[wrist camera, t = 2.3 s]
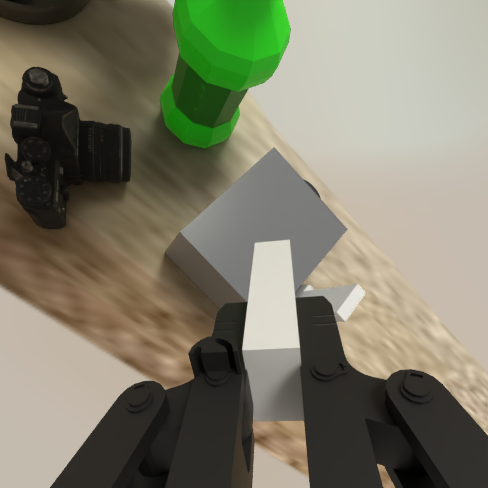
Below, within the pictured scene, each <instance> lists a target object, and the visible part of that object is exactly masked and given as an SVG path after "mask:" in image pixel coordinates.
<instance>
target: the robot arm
mask: <svg viewBox="0 0 488 488" xmlns="http://www.w3.org/2000/svg"><path fill="white" fill-rule="evenodd" d="M87 2H88V0H0V16H2V17H4V18H7V19H10V20H14V21H18V22H23V23H29V24H50V23H56V22H60V21H63V20H66V19H68V18H70V17H72V16H74V15H75V14H77V13H78V12H79V11H81V10H82V9H83V7H84V6H85V5H86V3H87ZM188 354H189V358H190V362H191V365H192V369H193V373H194V379H192V380H191V381H189V382H187V383H185V384H182V385H180V386H177V387H173V388H170V389H167V390H165V389H164V388H163V387H162V385H161V384H160V383H157V382H155V381H143V382H140V383H137V384H134V385H132V386H131V387H129V388H127V389H126V390H125V391H124V392H123V393H122V394H121V395H120V396H119V397H118V398H117V400H116V401H115V402H114V404H113V405H112V406H111V408H110V409H109V410H108V412H107V413H106V414H105V416H104V417H103V418H102V420H101V421H100V422H99V424H98V425H97V426H96V428H95V429H94V430H93V432H92V433H91V434H90V435H89V437H88V438H87V440H86V441H85V442H84V443H83V445H82V446H81V447H80V449H79V450H78V451H77V453H76V454H75V455H74V457H73V458H72V459H71V461H70V462H69V463H68V465H67V466H66V467H65V469H64V470H63V471H62V473H61V474H60V475H59V477H58V478H57V479H56V480H55V482H54V483H53V484H52V486H51V487H50V488H252V478H253V459H254V434H253V428H252V424H253V414H254V420H255V421H300V420H304V422H305V434H306V446H307V458H308V470H309V482H310V488H383V486H382V482H381V478H380V474H379V470H378V467H377V464H380V465H383V466H385V469H386V471H387V472H388V474H389V476H390V478H391V480H392V482H393V484H394V486H395V488H488V435H487V434H486V433H485V432H484V431H483V430H482V429H481V427H480V426H479V425H478V424H477V423H476V422H475V421H474V419H473V418H472V417H471V416H470V415H469V414H468V413H467V412H466V410H465V409H464V408H463V407H462V406H461V405H460V404H459V402H458V401H457V400H456V399H455V398H454V397H453V396H452V395H451V393H450V392H449V391H448V390H447V389H446V388H445V387H444V385H443V384H441V383H440V382H439V381H438V380H437V379H436V378H434V377H433V376H431V375H429V374H426V373H424V372H422V371H417V370H412V369H409V370H399V371H397V372H395V373H393V374H391V376H390V377H389V378H388V379H387V380H384V379H380V378H375V377H371V376H368V375H365V374H363V373H361V372H359V371H357V370H356V369H354V368H353V367H352V366H351V365H350V364H349V363H348V361H347V360H346V357H345V354H344V351H343V347H342V343H341V339H340V335H339V331H338V327H337V324H336V319H335V316H334V311H333V307H332V304H331V303H330V302H329V301H328V300H327V299H326V298H325V297H324V296H313V297H298V298H295V291H294V280H293V269H292V259H291V248H290V240H280V241H269V242H258V243H255V246H254V255H253V263H252V271H251V280H250V288H249V297H248V302H238V303H225V304H224V306H223V307H222V308H221V309H220V310H219V311H218V313H217V317H216V322H215V326H214V330H213V334H212V336H211V337H207V338H205V339H202V340H200V341H198V342H197V343H196V344H195V345H194V346H193V347H192V348H191V350H190V352H189V353H188Z"/></svg>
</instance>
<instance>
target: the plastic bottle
mask: <svg viewBox="0 0 488 488" xmlns="http://www.w3.org/2000/svg"><path fill="white" fill-rule="evenodd" d="M173 23H174V30H175V34H176V38H177V43H178V47H179V52H180V53H179V57H178V61H177V66H176V70H175V74H174V75H172V76H171V78H170V80H169V82H168V83H167V85H166V87H165V89H164V90H163V92H162V94H161V97H160V103H161V108H162V113H163V117H164V122H165V125H166V127H167V128H168V129H169V130H170V131H171V132H172V133H173V134H174V135H175V136H176V137H177V138H178V139H180V140H181V141H182V142H183V143H184V144H189V145H193V146H197V147H202V148H208V147H210V146H213V145H215V144H218V143H220V142H222V141H225V140H227V139H228V138H229V137H230V135H231V133H232V131H233V129H234V127H235V125H236V123H237V120H238V118H239V116H240V114H239V107H238V106H239V104H240V103H241V101H242V99H243V97H244V96H245V94H246V92H247V90H248V89H249V88H251V87H253V86H256V85H259V84H262V83H264V82H265V81H266V80H268V79H269V78H270V77H271V76H272V75H273V73H274V72H275V70H276V69H277V67H278V65H279V63H280V60H281V58H282V56H283V54H284V51H285V49H286V47H287V45H288V43H289V37H290V31H291V28H290V25H289V21H288V17H287V14H286V10H285V7H284V3H283V0H175V4H174V9H173Z"/></svg>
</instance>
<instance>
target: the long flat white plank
mask: <svg viewBox="0 0 488 488" xmlns="http://www.w3.org/2000/svg"><path fill="white" fill-rule="evenodd" d="M365 294H366V292H365V291H364V290H363V289H362V288H361V287H360V286H359V285H358V284H353V285H346V286H338V287H331V288H324V289H316V290H314V289H313V288H312V287H311V286H310V285H309V284H308V285H302V286H300V287H299V288H298V289H297V290H296V292H295V298H298V297H313V296H324V297H325V298H326V299H327V300H328V301H329V302H330V303H331V304H332V307H333V311H334V316H335V319H336V321H339V322H345V321H346V320H347V319H348V317H349V316H350V315H351V313H352V312H353V310H354V309H355V308H356V306H357V305H358V303H359V302H360V301H361V299H362V298H363V296H364V295H365Z"/></svg>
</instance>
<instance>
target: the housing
mask: <svg viewBox="0 0 488 488" xmlns="http://www.w3.org/2000/svg"><path fill="white" fill-rule="evenodd" d="M346 230H347V228H346V227H345V226H344V225H343V224H342V223H341V221H340V220H339V219H338V218H337V217H336V216H335V215H334V214H333V213H332V211H331V210H330V209H329V208H328V207H327V206H326V205H325V204H324V202H323V201H322V200H321V198H320V195H319V193H318V192H317V190H316V189H315V188H314V187H313V186H312V185H311V184H310V183H309V182H307V181H306V180H303V179H302V178H301V177H300V176H299V174H298V173H297V172H296V171H295V170H294V169H293V168H292V167H291V165H290V164H289V163H288V162H287V161H286V160H285V159H284V158H283V157H282V155H281V154H280V153H279V152H278V151H277V150H276V149H275V148H273V149H272V150H270V151H269V152H268V153H267V154H266V155H265V156H264V157H263V158H262V159H260V160H259V161H258V162H257V163H256V164H255V165H254V166H253V167H252V168H250V169H249V170H248V171H247V172H246V173H245V174H244V175H243V176H242V177H240V178H239V179H238V180H237V181H236V182H235V183H234V184H233V185H232V186H230V187H229V188H228V189H227V190H226V191H225V192H224V193H223V194H222V195H220V196H219V197H218V198H217V199H216V200H215V201H214V202H213V203H212V204H210V205H209V206H208V207H207V208H206V209H205V210H204V211H203V212H201V213H200V214H199V215H198V216H197V217H196V218H195V219H194V220H193V221H191V222H190V223H189V224H188V225H187V226H186V227H185V228H184V229H183V230H181V231H180V232H179V234H178V235H177V236H176V238H175V239H174V241H173V242H172V243H171V245H170V246H169V247H168V249H167V250H166V251H165V254H166V255H167V256H168V257H169V258H170V259H171V260H172V261H173V262H174V263H175V264H176V265H177V266H178V267H179V268H180V269H181V270H182V271H183V272H184V273H185V274H186V275H187V276H188V277H189V278H190V279H191V280H192V281H193V282H194V283H195V285H196V286H197V287H198V288H199V289H200V290H201V291H202V292H203V293H204V294H205V295H206V296H207V297H208V298H209V299H210V300H211V301H212V302H213V303H214V304H215V305H216V306H217V307H218V308H219V309H221V308H222V307H223V306H224V304H225V303H238V302H248V297H249V288H250V280H251V271H252V263H253V255H254V246H255V243H258V242H269V241H280V240H290V248H291V259H292V269H293V280H294V291H295V292H296V290H297V289H298V288H299V287H300V286H301V284H302V283H303V282H304V281H305V280H306V278H307V277H308V276H309V275H310V274H311V272H312V271H313V270H314V269H315V268H316V266H317V265H318V264H319V263H320V262H321V260H322V259H323V258H324V257H325V256H326V254H327V253H328V252H329V251H330V250H331V248H332V247H333V246H334V245H335V244H336V242H337V241H338V240H339V239H340V238H341V236H342V235H343V234H344V233H345V232H346Z"/></svg>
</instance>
